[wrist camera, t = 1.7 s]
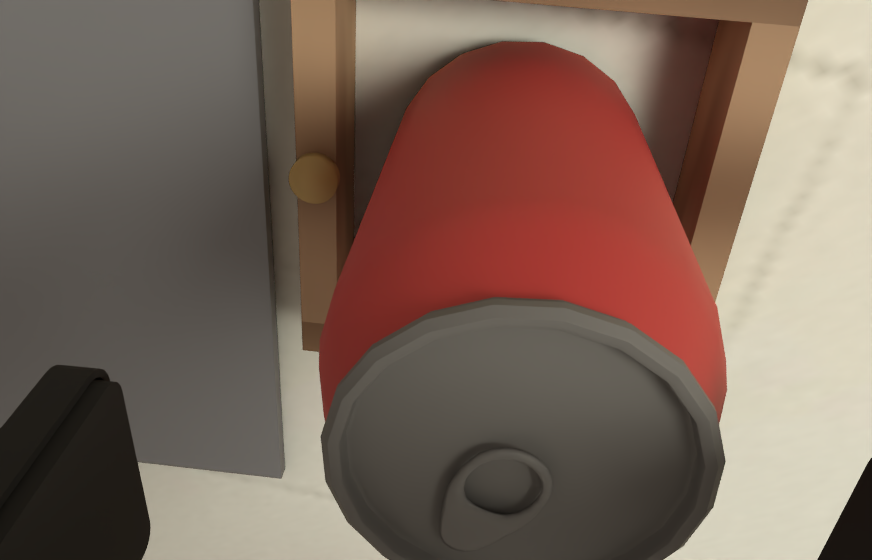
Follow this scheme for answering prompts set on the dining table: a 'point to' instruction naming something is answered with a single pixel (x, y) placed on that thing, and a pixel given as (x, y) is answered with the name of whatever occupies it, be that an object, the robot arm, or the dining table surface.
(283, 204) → the dining table surface
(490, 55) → the beer can
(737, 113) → the frame
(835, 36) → the dining table surface
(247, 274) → the mat
